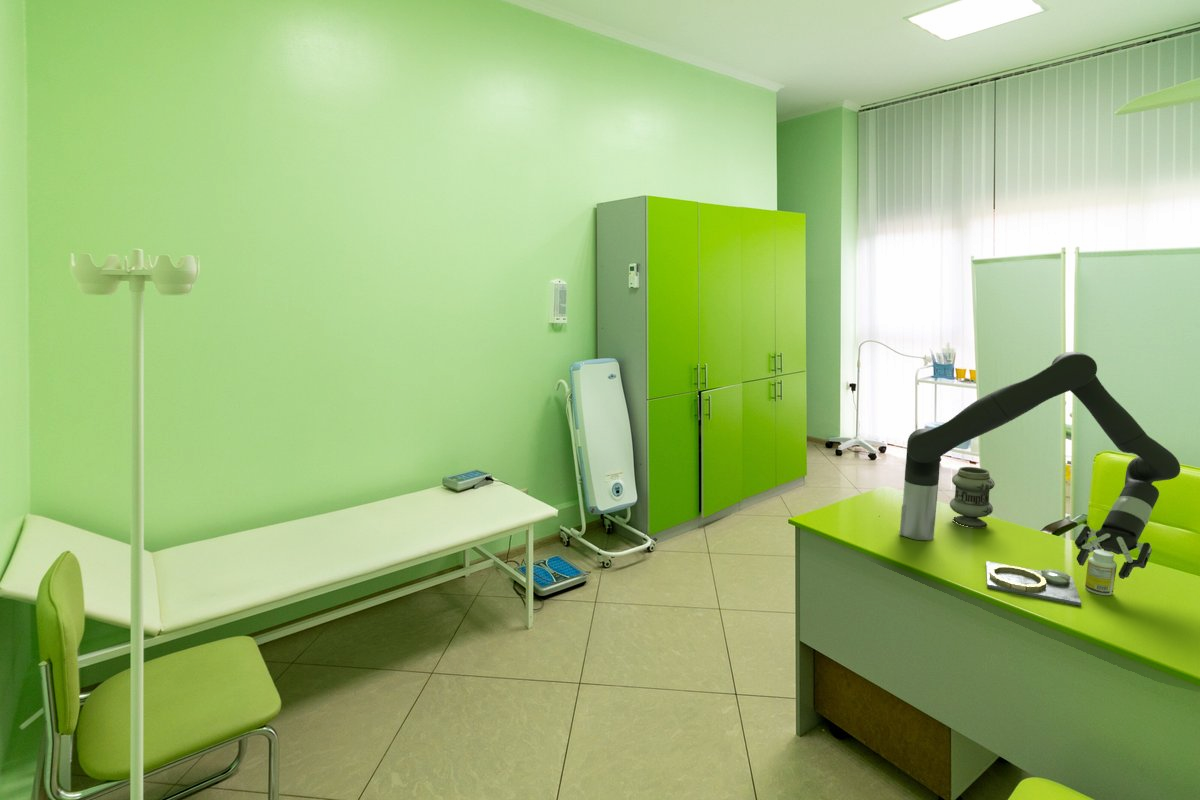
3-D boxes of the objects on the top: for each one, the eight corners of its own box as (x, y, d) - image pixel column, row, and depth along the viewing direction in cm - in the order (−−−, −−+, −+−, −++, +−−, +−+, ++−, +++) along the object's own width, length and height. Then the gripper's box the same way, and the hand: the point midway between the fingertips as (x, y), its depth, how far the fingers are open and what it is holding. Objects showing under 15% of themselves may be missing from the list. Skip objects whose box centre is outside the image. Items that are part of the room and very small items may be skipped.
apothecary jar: (948, 514, 209) (953, 462, 206) (990, 520, 203) (996, 467, 200) (947, 525, 199) (952, 471, 196) (991, 532, 193) (997, 477, 190)
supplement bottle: (1097, 584, 158) (1102, 547, 156) (1118, 595, 152) (1124, 556, 151) (1078, 586, 157) (1083, 549, 155) (1099, 597, 151) (1105, 558, 150)
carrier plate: (987, 587, 156) (988, 578, 156) (985, 564, 170) (986, 555, 170) (1080, 606, 147) (1082, 596, 146) (1071, 580, 160) (1072, 571, 160)
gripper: (1090, 502, 161) (1063, 552, 158) (1159, 518, 149) (1132, 573, 145) (1097, 517, 165) (1071, 567, 161) (1166, 535, 152) (1138, 589, 149)
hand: (1100, 570), depth 153 cm, fingers open, 8 cm apart
